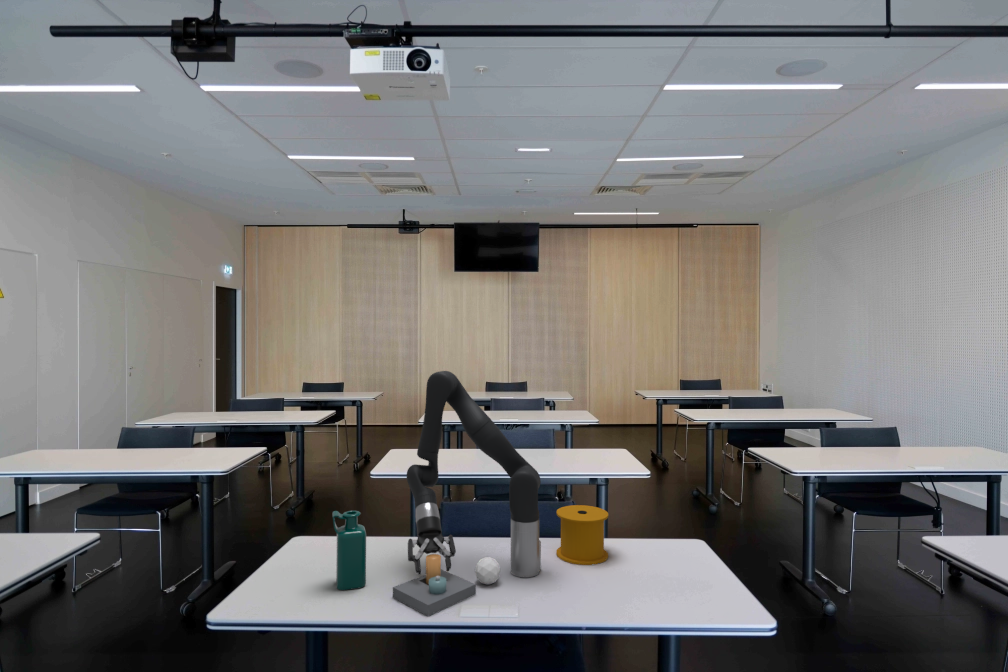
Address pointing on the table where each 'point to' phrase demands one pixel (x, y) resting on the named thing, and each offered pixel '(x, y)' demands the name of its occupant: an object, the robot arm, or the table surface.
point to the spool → (582, 534)
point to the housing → (434, 592)
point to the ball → (487, 570)
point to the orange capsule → (433, 566)
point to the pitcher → (350, 552)
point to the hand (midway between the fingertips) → (434, 571)
